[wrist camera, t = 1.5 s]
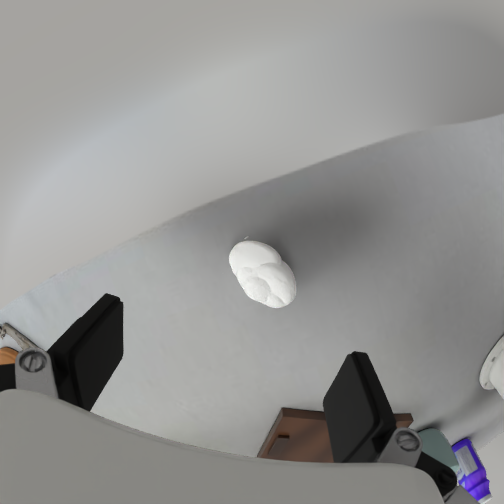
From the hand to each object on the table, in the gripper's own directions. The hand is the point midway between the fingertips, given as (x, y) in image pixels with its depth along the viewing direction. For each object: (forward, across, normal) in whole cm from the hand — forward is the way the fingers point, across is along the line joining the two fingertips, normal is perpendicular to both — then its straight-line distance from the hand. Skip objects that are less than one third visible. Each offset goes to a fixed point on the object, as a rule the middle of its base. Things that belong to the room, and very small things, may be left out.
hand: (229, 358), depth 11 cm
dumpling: (+15, -2, +2) cm, 16 cm away
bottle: (+15, -53, +32) cm, 63 cm away
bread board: (+15, -19, +26) cm, 35 cm away
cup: (+15, -36, +25) cm, 46 cm away
